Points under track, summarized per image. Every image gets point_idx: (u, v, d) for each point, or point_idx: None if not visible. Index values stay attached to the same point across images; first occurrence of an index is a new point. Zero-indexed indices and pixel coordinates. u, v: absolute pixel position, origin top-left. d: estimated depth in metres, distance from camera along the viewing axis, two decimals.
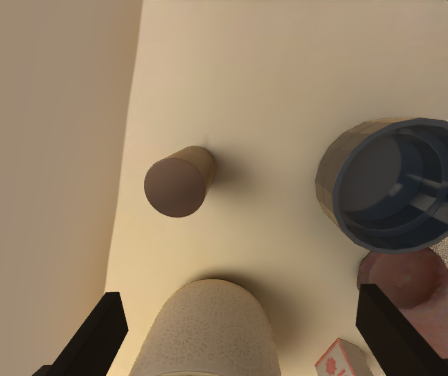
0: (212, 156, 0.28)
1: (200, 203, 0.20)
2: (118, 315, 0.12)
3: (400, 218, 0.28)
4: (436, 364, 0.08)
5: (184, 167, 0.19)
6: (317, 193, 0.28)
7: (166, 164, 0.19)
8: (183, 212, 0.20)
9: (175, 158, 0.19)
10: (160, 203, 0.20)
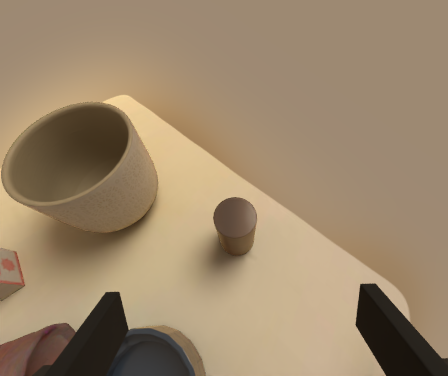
0: (238, 255, 0.35)
1: (217, 227, 0.28)
2: (118, 315, 0.12)
3: None
4: (436, 364, 0.08)
5: (245, 229, 0.27)
6: (168, 327, 0.31)
7: (252, 219, 0.28)
8: (217, 214, 0.29)
9: (253, 227, 0.28)
10: (230, 203, 0.29)
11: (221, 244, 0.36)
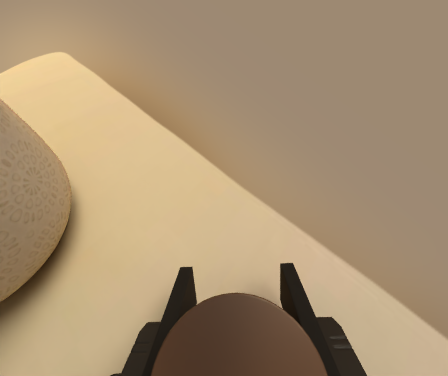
0: None
1: None
2: (192, 287, 0.14)
3: None
4: (308, 318, 0.10)
5: None
6: None
7: None
8: (164, 375, 0.07)
9: None
10: (218, 321, 0.08)
11: None
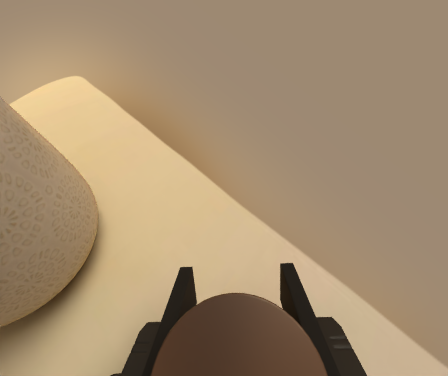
0: None
1: None
2: (192, 287, 0.14)
3: None
4: (308, 318, 0.10)
5: None
6: None
7: None
8: (164, 375, 0.07)
9: None
10: (218, 321, 0.08)
11: None
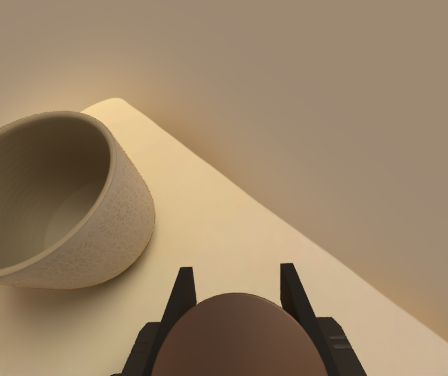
0: None
1: None
2: (192, 287, 0.14)
3: None
4: (308, 318, 0.10)
5: None
6: None
7: None
8: (164, 374, 0.07)
9: None
10: (219, 321, 0.08)
11: None
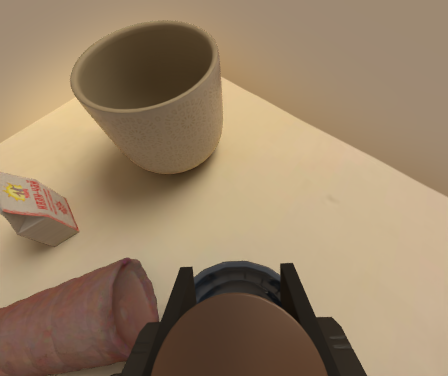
0: None
1: None
2: (192, 287, 0.14)
3: None
4: (308, 318, 0.10)
5: None
6: None
7: None
8: (164, 374, 0.07)
9: None
10: (218, 321, 0.08)
11: None
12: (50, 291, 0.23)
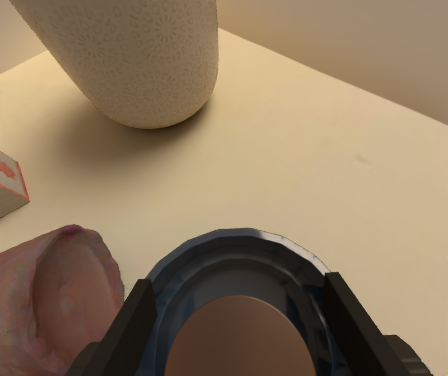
0: None
1: None
2: (150, 300, 0.13)
3: (161, 355, 0.16)
4: (376, 338, 0.09)
5: None
6: None
7: None
8: (177, 363, 0.08)
9: None
10: (222, 319, 0.09)
11: None
12: None
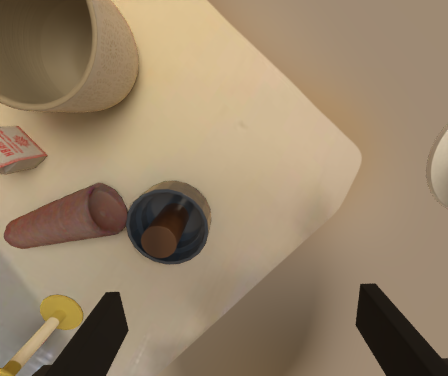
0: None
1: (145, 250, 0.35)
2: (118, 315, 0.12)
3: (145, 222, 0.43)
4: (436, 364, 0.08)
5: (168, 252, 0.35)
6: (178, 182, 0.41)
7: (173, 245, 0.34)
8: (143, 240, 0.34)
9: (174, 250, 0.35)
10: (153, 231, 0.34)
11: None
12: (52, 208, 0.38)
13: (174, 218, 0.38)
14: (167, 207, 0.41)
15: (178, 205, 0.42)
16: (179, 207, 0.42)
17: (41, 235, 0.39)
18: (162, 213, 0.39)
